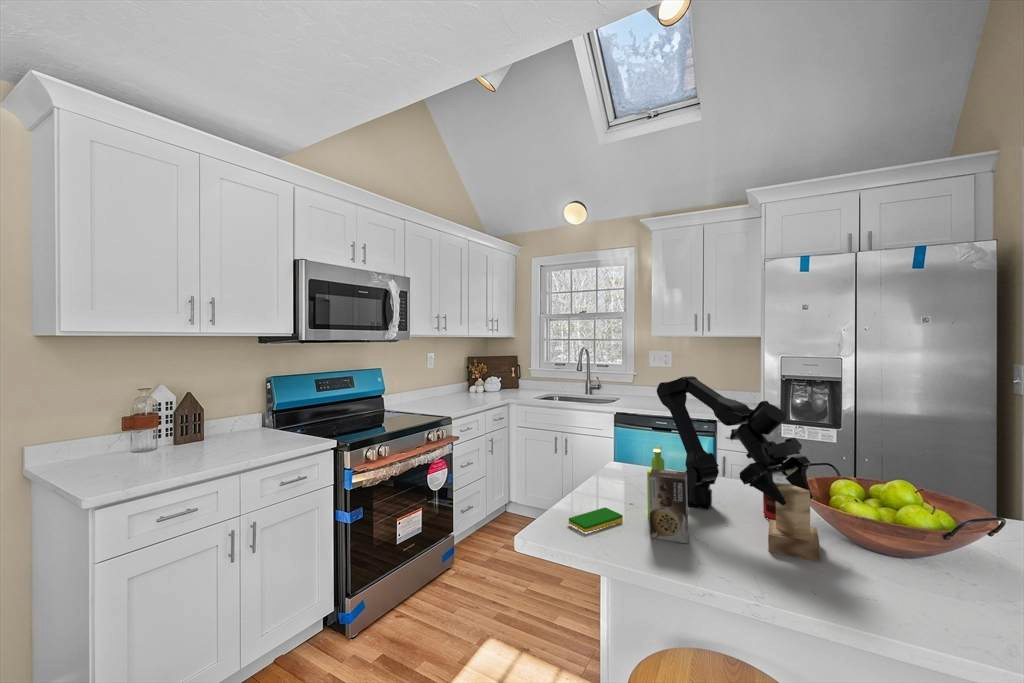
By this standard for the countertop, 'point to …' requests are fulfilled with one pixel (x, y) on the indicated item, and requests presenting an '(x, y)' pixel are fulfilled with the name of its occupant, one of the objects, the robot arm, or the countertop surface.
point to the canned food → (770, 503)
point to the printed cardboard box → (668, 505)
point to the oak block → (793, 510)
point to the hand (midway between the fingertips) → (798, 501)
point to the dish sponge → (596, 519)
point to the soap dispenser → (655, 467)
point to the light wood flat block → (794, 543)
